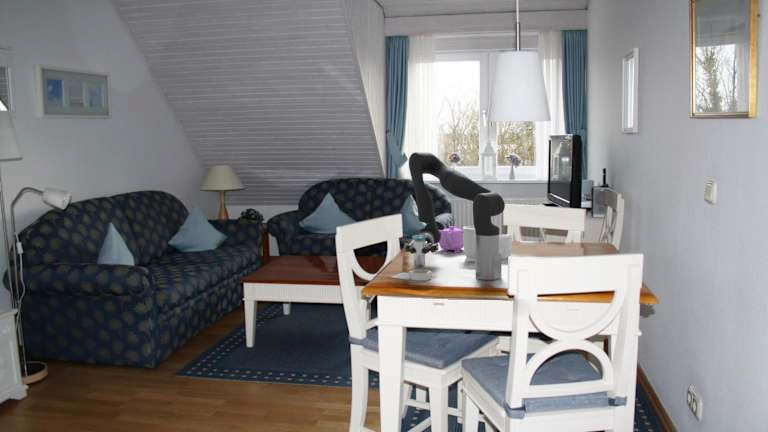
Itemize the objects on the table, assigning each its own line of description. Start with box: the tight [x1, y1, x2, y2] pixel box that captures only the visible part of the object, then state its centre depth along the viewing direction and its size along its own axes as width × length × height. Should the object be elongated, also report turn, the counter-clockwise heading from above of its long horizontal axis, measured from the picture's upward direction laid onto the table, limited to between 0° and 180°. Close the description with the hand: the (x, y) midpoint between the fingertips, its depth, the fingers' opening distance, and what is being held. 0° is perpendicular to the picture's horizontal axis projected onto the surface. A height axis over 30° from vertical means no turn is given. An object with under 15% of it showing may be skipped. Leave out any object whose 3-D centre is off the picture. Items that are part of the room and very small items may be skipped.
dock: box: [390, 268, 438, 283], centre depth 269 cm, size 16×10×4 cm, turn 55°
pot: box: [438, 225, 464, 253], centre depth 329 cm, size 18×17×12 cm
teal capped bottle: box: [412, 234, 426, 269], centre depth 265 cm, size 5×5×12 cm
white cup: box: [499, 233, 513, 260], centre depth 309 cm, size 8×8×10 cm
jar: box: [462, 225, 476, 263], centre depth 303 cm, size 11×10×15 cm
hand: (418, 251), depth 262 cm, fingers closed on teal capped bottle, 4 cm apart
